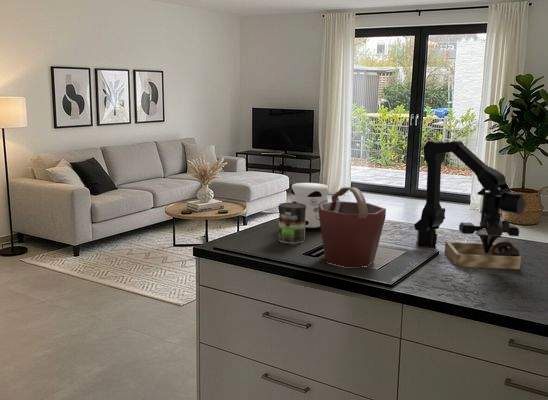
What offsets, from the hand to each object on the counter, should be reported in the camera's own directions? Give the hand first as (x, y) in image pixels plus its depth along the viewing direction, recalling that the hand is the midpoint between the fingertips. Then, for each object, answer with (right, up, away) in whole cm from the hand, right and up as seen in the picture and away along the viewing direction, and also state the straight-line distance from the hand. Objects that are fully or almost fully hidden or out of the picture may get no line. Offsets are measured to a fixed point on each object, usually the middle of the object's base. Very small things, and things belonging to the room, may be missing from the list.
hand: (486, 253), depth 191 cm
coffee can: (-67, +3, +20) cm, 70 cm away
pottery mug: (+6, -3, 0) cm, 7 cm away
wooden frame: (-1, -3, +1) cm, 3 cm away
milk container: (-59, +7, +43) cm, 74 cm away
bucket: (-48, -2, -4) cm, 48 cm away
